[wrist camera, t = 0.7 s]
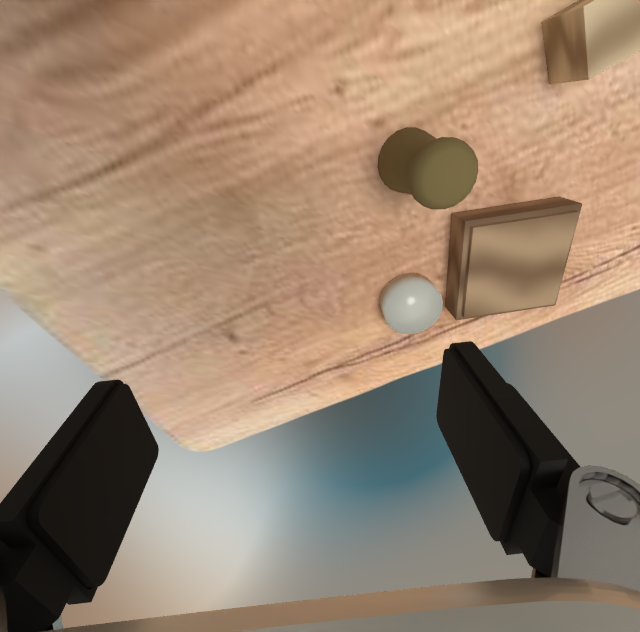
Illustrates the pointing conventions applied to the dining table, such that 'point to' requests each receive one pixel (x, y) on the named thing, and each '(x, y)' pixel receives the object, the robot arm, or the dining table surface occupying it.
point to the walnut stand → (509, 256)
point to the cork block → (590, 38)
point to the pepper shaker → (428, 167)
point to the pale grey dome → (410, 303)
